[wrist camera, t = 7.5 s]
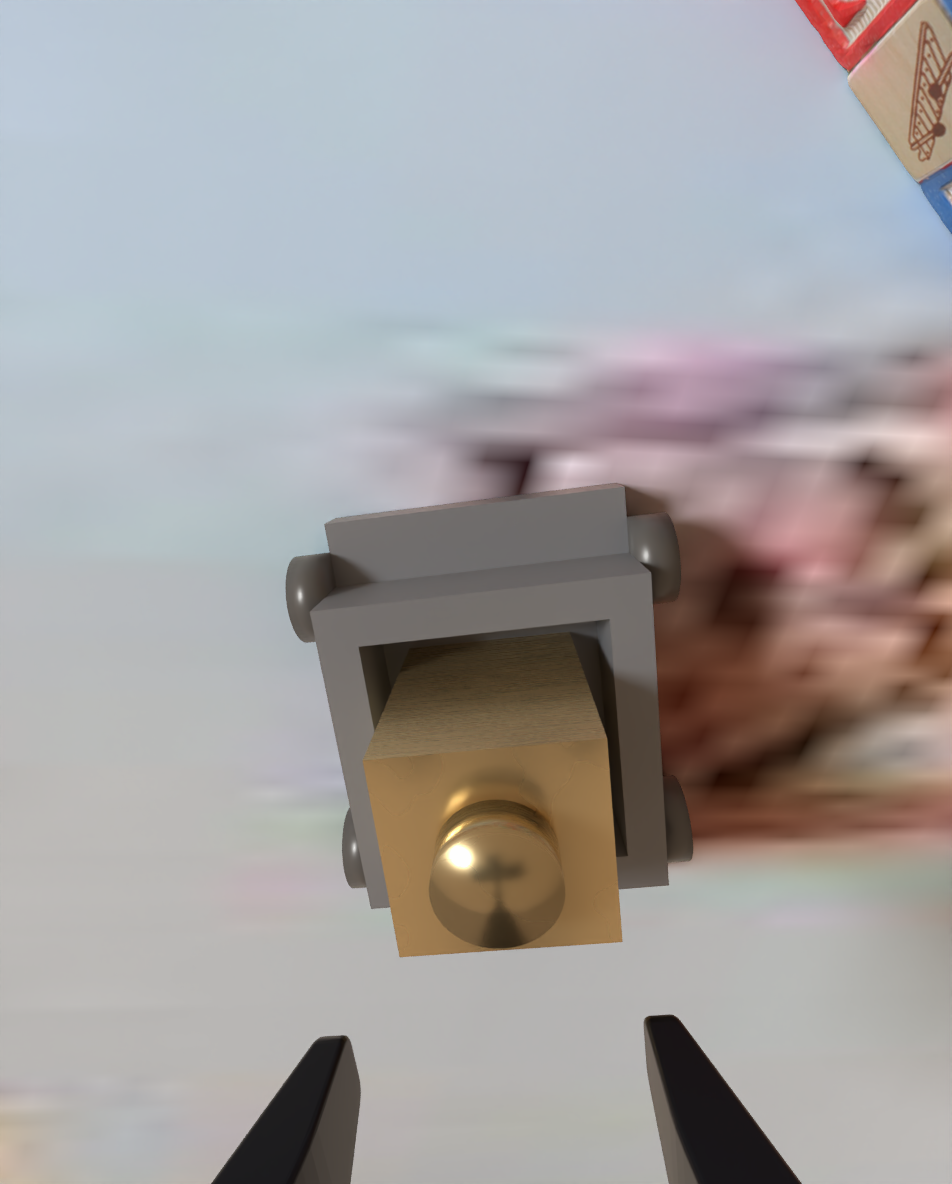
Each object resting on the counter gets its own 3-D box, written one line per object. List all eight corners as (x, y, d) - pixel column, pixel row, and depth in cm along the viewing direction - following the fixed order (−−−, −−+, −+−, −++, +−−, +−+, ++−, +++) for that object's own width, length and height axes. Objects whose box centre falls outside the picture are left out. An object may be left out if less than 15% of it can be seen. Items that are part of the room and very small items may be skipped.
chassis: (672, 847, 20) (709, 936, 16) (373, 872, 20) (346, 963, 17) (652, 478, 17) (692, 490, 13) (302, 522, 17) (252, 544, 14)
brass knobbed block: (582, 775, 18) (633, 987, 11) (431, 788, 18) (391, 1002, 11) (569, 631, 17) (617, 768, 10) (409, 648, 17) (349, 792, 10)
